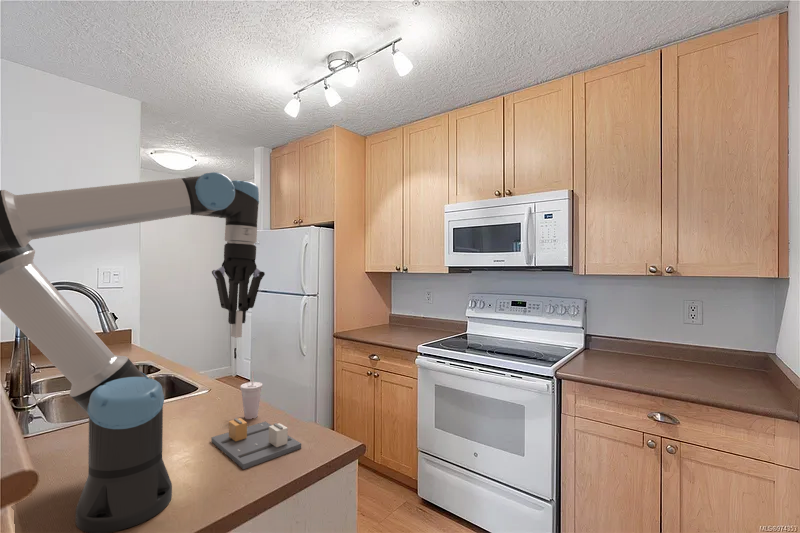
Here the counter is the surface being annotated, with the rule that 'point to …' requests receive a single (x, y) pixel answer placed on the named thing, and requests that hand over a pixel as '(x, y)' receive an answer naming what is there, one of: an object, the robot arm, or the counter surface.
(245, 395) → the smoothie
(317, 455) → the counter surface
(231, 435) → the orange fader
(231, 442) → the fader board
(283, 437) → the cream fader
